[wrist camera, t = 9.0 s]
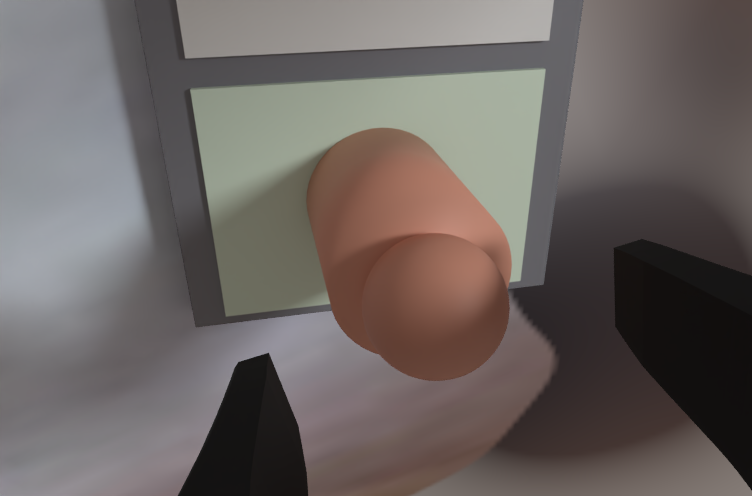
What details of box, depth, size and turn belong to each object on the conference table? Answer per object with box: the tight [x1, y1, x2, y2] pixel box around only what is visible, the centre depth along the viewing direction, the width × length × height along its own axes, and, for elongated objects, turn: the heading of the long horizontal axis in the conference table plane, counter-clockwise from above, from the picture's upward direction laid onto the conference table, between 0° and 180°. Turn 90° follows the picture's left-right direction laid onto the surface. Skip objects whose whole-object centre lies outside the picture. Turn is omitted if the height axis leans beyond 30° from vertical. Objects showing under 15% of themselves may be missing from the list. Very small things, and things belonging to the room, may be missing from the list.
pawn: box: [306, 128, 512, 381], centre depth 15 cm, size 4×4×8 cm
